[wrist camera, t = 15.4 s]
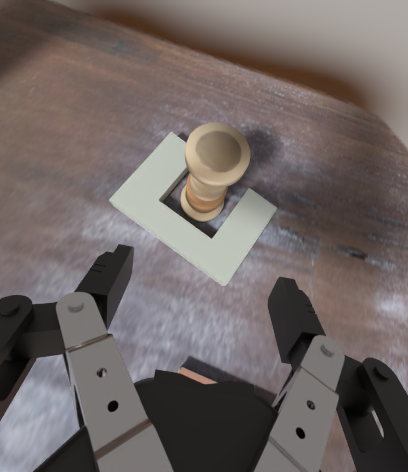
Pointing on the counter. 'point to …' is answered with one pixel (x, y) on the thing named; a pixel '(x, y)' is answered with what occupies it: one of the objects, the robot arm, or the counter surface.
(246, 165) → the bobbin
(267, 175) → the counter surface
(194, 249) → the notched board
